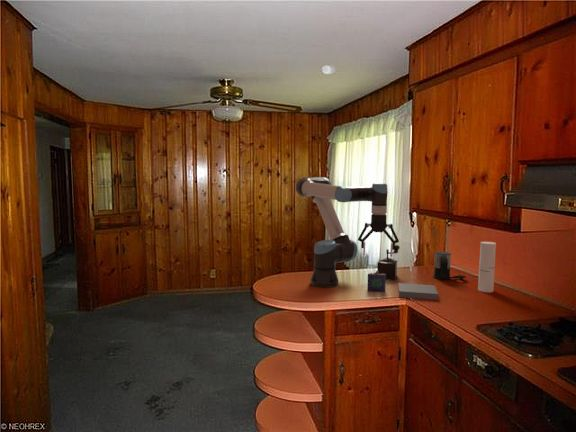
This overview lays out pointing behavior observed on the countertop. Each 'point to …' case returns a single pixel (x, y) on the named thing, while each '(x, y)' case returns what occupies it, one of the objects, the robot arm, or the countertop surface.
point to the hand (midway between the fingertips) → (377, 255)
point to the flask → (376, 282)
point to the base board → (417, 291)
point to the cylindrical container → (487, 266)
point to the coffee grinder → (388, 266)
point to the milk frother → (443, 266)
